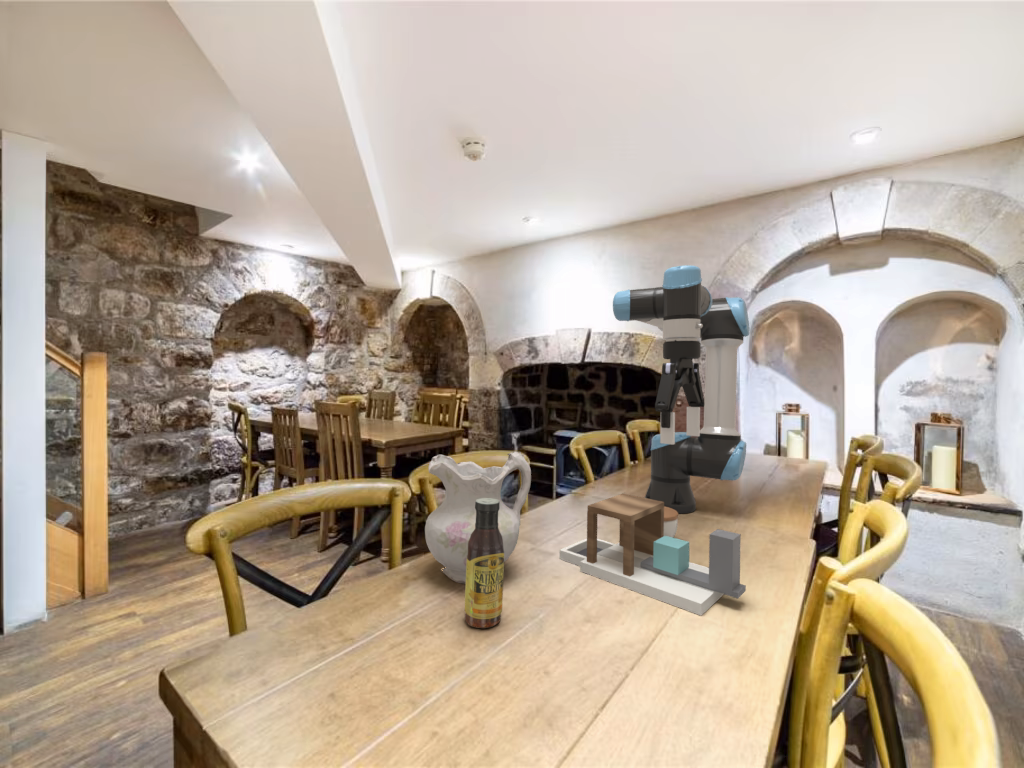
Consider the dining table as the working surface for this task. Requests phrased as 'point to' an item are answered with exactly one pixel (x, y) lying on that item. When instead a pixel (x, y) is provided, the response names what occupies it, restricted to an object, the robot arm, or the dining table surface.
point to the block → (671, 555)
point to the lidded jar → (670, 521)
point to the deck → (641, 576)
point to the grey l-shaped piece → (714, 566)
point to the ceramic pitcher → (471, 509)
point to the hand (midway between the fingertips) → (680, 439)
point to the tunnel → (628, 526)
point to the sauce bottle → (484, 567)
